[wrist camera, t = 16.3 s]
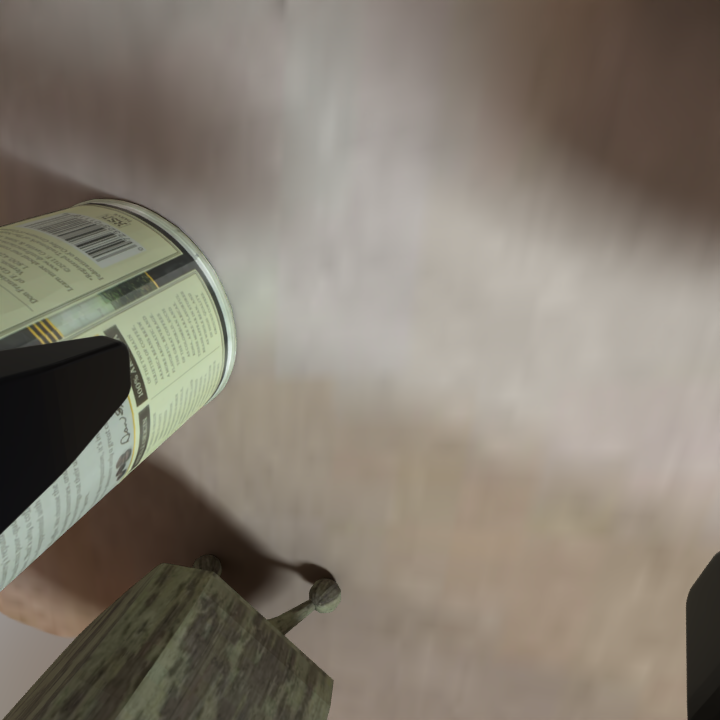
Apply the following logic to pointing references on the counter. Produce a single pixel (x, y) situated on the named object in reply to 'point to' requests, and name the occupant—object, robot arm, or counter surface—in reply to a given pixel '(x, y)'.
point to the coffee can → (121, 322)
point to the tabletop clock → (185, 657)
